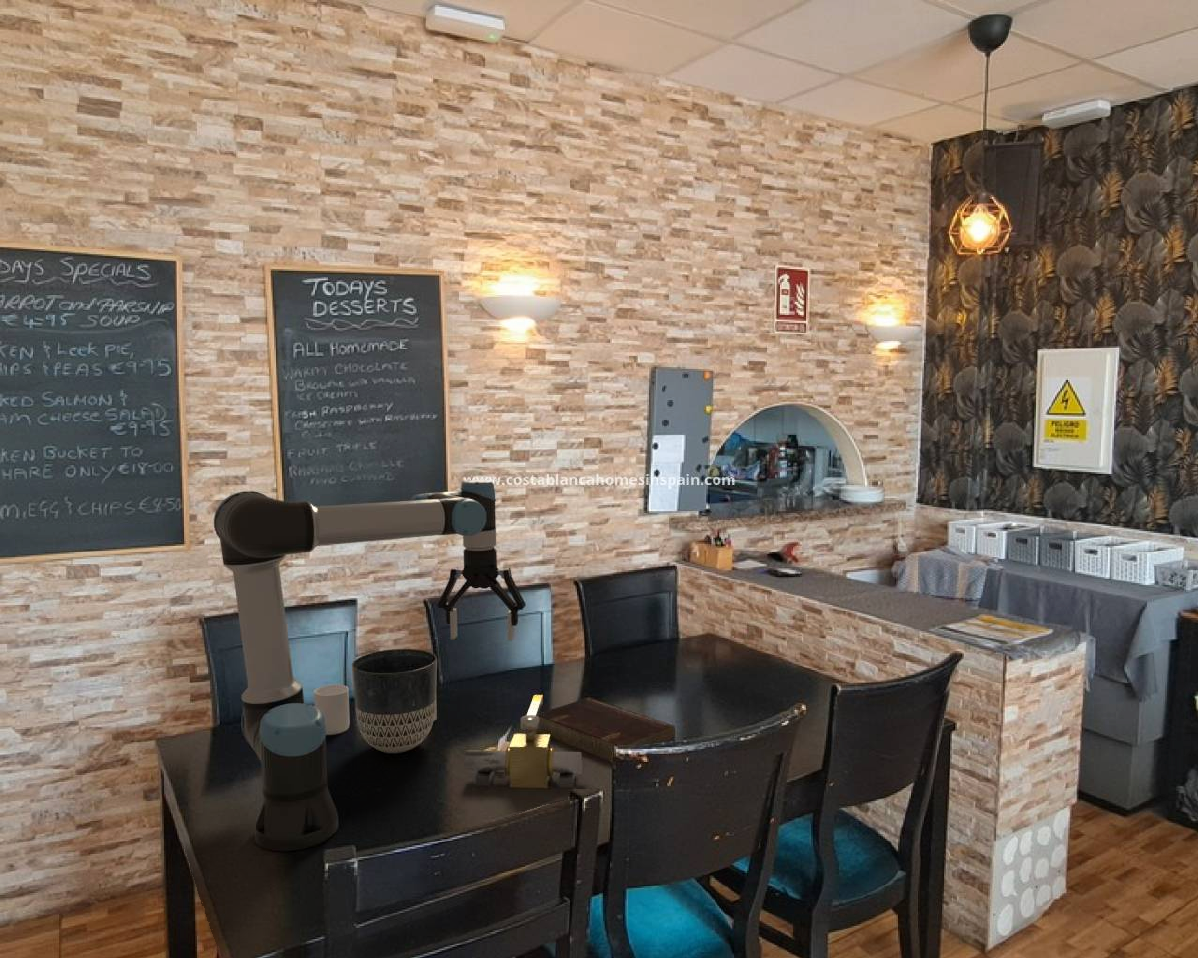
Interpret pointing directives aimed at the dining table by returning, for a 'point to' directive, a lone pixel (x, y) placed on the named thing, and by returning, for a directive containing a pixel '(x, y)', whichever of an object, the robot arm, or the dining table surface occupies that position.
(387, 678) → the planter
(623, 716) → the hardback book
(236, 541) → the robot arm
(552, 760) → the valve
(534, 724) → the lever
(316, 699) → the cup
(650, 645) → the dining table surface
